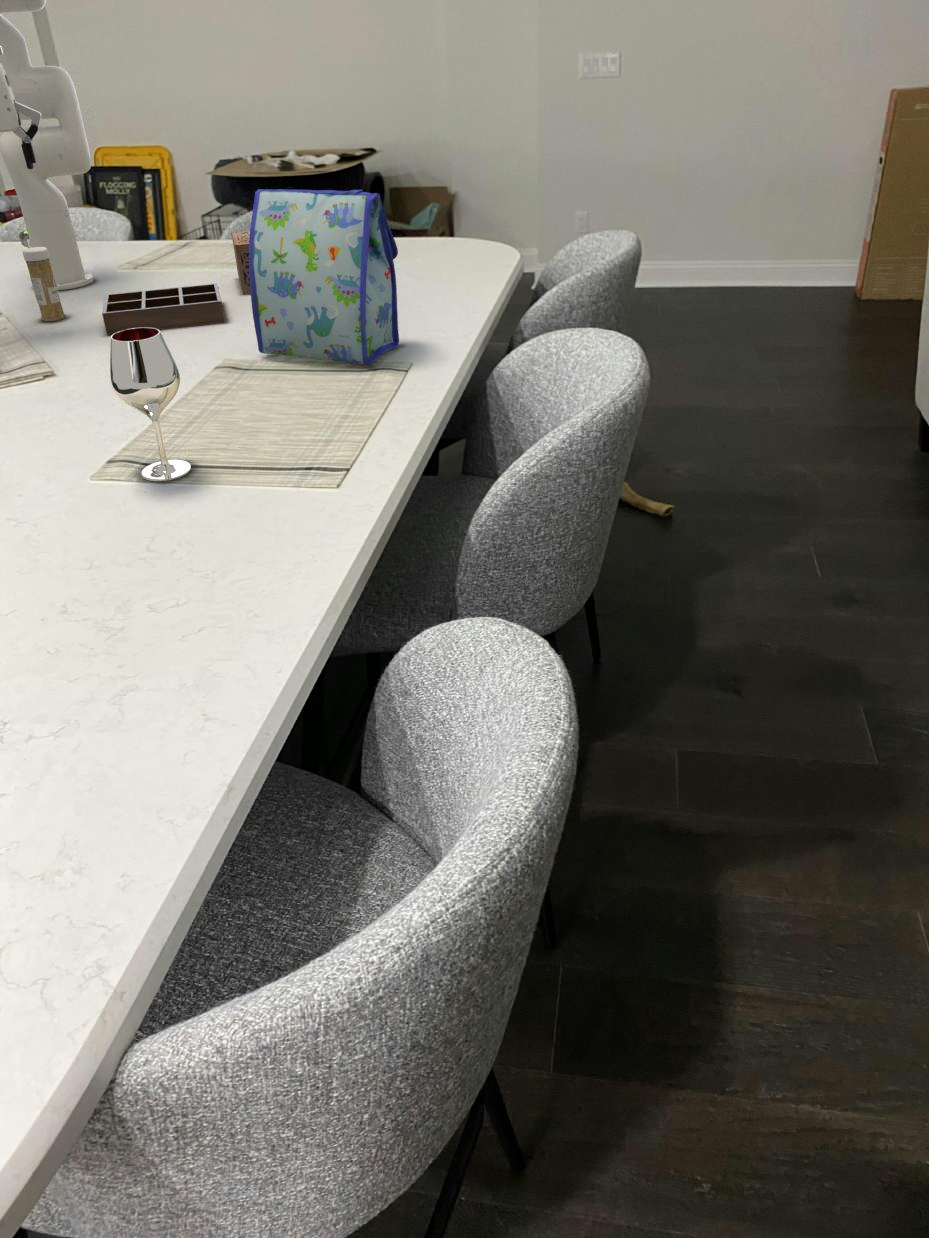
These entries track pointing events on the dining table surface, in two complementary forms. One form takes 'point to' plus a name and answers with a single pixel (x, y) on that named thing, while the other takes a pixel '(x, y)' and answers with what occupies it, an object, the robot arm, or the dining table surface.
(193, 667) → the dining table surface
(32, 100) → the robot arm
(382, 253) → the lunch bag
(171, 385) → the wineglass
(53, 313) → the sprinkles bottle
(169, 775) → the dining table surface
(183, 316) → the tray
